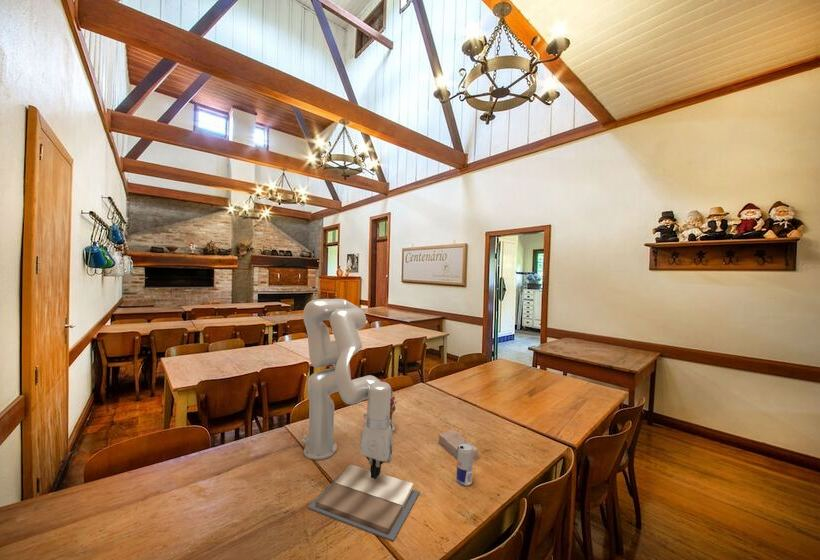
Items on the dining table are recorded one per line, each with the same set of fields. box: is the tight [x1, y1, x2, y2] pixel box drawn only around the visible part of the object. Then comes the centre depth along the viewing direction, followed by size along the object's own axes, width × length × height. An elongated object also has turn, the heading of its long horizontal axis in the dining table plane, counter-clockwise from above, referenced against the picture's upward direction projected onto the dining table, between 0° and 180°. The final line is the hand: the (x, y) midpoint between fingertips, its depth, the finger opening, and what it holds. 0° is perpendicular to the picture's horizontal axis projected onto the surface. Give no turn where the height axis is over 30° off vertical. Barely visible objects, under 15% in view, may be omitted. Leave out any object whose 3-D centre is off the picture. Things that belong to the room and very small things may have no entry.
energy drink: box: [455, 443, 474, 487], centre depth 105 cm, size 5×5×12 cm
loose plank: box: [335, 463, 414, 509], centre depth 98 cm, size 24×9×2 cm, turn 68°
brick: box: [438, 429, 479, 462], centre depth 123 cm, size 17×8×5 cm, turn 28°
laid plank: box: [316, 483, 402, 534], centre depth 90 cm, size 24×9×2 cm, turn 68°
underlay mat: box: [307, 474, 421, 542], centre depth 94 cm, size 28×20×1 cm
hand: (375, 475), depth 100 cm, fingers closed
